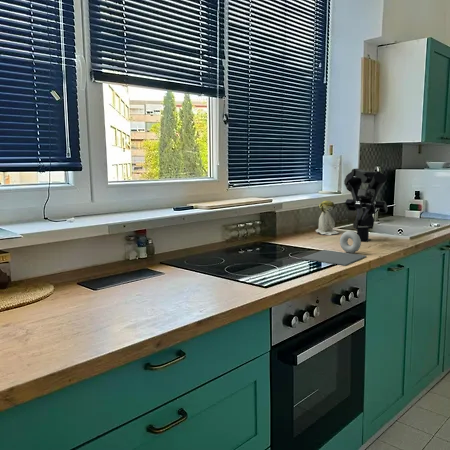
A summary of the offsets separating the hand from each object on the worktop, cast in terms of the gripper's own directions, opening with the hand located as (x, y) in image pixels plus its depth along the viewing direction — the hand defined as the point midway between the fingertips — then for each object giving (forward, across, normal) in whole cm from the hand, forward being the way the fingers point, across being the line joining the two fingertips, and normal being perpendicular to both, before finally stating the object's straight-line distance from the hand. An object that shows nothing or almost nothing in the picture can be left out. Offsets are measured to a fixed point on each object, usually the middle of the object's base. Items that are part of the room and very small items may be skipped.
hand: (360, 220), depth 203 cm
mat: (+26, -1, -6) cm, 26 cm away
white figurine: (-11, -32, +31) cm, 46 cm away
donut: (+17, 0, +3) cm, 17 cm away
